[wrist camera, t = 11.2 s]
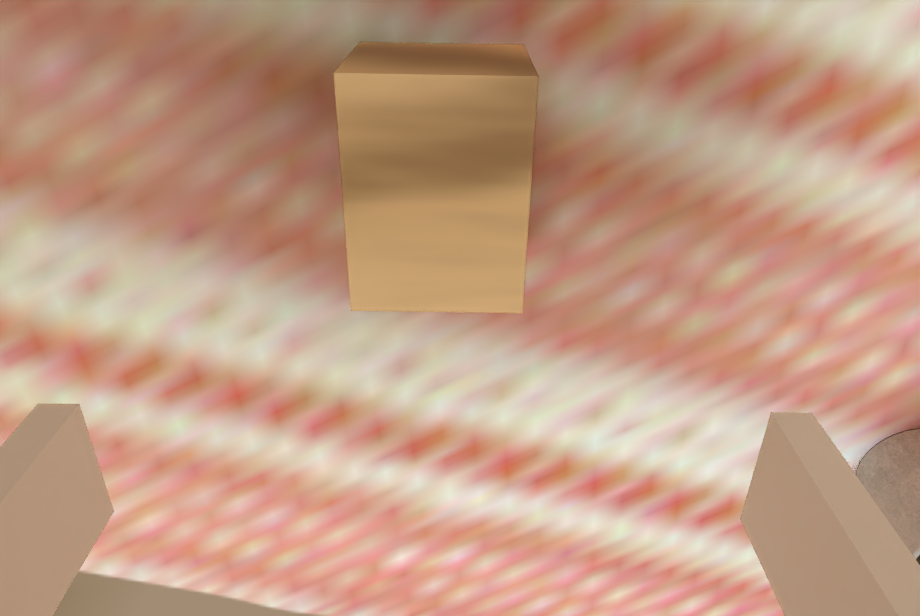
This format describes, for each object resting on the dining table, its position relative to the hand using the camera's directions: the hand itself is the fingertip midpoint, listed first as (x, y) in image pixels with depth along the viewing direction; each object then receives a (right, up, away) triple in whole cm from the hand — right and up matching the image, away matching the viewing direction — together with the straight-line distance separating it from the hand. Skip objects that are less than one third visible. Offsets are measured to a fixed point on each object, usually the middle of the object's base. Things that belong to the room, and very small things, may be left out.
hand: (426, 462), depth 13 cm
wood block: (0, +11, +9) cm, 15 cm away
